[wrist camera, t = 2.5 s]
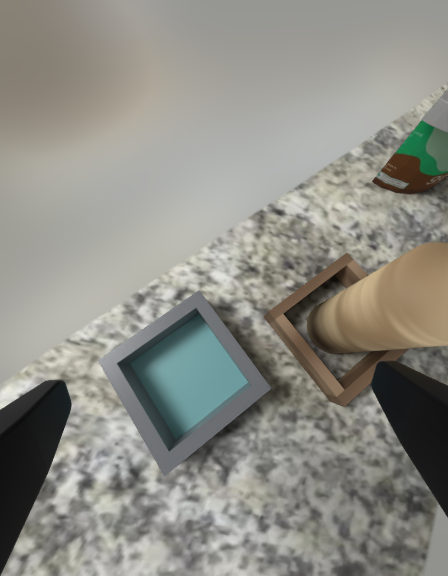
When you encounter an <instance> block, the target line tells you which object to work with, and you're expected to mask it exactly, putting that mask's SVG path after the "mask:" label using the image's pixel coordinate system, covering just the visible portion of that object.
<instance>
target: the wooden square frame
mask: <svg viewBox="0 0 448 576" xmlns="http://www.w3.org/2000/svg"><path fill="white" fill-rule="evenodd" d="M333 275H335V276H336V277H337V279H338V280H339V281H340V282H341V283H342V284H343V285H344V286H345V287H346V289H347V288H348V287H350V286H352V285H353V284H355V283H357V282H358V281H360V280H362V279H363V278H365V277H367V276H368V275H367V273H366V272H365V271H364V270H363V269H362V268H361V267H360V266H359V265H358V264H357V263H356V262H355V261H354V260H353V259H352V258H351V256H350V255H349V254H348V253H346V254H345V255H343V256H342V257H341V258H339V259H338V260H337V261H335V262H334V263H333V264H331V265H330V266H329V267H327V268H326V269H325V270H323V271H322V272H321V273H319V274H318V275H317V276H315V277H314V278H313V279H311V280H310V281H309V282H307V283H306V284H305V285H303V286H302V287H301V288H299V289H298V290H297V291H295V292H294V293H293V294H291V295H290V296H289V297H287V298H286V299H285V300H283V301H282V302H281V303H279V304H278V305H277V306H275V307H274V308H273V309H271V310H270V311H269V312H268V313H267V314H266V315H265V316H264V318H265V319H266V320H267V322H268V323H269V324H270V325H271V327H272V328H273V329H274V331H275V332H276V333H277V334H278V336H279V337H280V338H281V340H282V341H283V342H284V343H285V345H286V346H287V347H288V348H289V350H290V351H291V352H292V354H293V355H294V356H295V357H296V359H297V360H298V361H299V362H300V364H301V365H302V366H303V368H304V369H305V370H306V371H307V373H308V374H309V375H310V377H311V378H312V379H313V380H314V382H315V383H316V384H317V385H318V387H319V388H320V389H321V391H322V392H323V393H324V394H325V396H326V397H327V398H328V399H329V401H330V402H333V403H336V404H338V405H341V406H344V407H345V406H346V405H347V404H348V403H349V402H350V401H351V400H352V399H354V398H355V397H356V396H357V395H358V394H359V393H360V392H361V391H362V390H364V389H365V388H366V387H367V386H368V385H369V384H370V383H371V382H372V378H373V374H374V371H375V367H376V364H377V363H378V362H379V361H383V360H394V361H396V360H397V359H398V358H399V357H400V356H402V355H403V354H404V353H405V352H406V351H407V350H408V349H409V348H408V349H394V350H380V351H371V352H370V353H369V354H368V355H367V356H366V357H364V358H363V359H362V360H361V361H360V362H359V363H358V364H356V365H355V366H354V367H353V368H352V369H351V370H349V371H348V372H347V373H346V374H345V375H344V376H342V377H341V378H340V379H339V380H338V381H337V380H336V379H335V377H334V376H333V375H332V374H331V372H330V371H329V370H328V369H327V367H326V366H325V365H324V364H323V363H322V361H321V360H320V359H319V358H318V356H317V355H316V354H315V353H314V351H313V350H312V349H311V348H310V346H309V345H308V344H307V343H306V341H305V340H304V339H303V338H302V337H301V335H300V334H299V333H298V332H297V330H296V329H295V328H294V327H293V325H292V324H291V323H290V322H289V320H288V319H287V318H286V317H285V315H284V314H283V313H285V312H286V311H287V310H289V309H290V308H291V307H293V306H294V305H295V304H297V303H298V302H299V301H300V300H302V299H303V298H304V297H306V296H307V295H308V294H310V293H311V292H312V291H314V290H315V289H316V288H318V287H319V286H320V285H321V284H323V283H324V282H325V281H327V280H328V279H329V278H331V277H332V276H333Z"/></svg>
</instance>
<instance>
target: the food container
mask: <svg viewBox="0 0 448 576" xmlns="http://www.w3.org/2000/svg"><path fill="white" fill-rule="evenodd" d="M421 120H422V121H421V122H420V123H419V124H418V126H417V127H416V128H415V129H414V130H413V132H412V133H411V134H410V135H409V137H408V138H407V139H406V140H405V141H404V143H403V144H402V145H401V146H400V148H399V149H398V150H397V151H396V153H395V154H394V155H393V156H392V157H391V159H390V160H389V161H388V162H387V164H386V165H385V166H384V167H383V168H382V170H381V171H380V172H379V173H378V175H377V176H376V177H375V178H374V180H373V181H372V182H374V183H375V184H377V185H378V186H380V187H382V188H384V189H387V190H390V191H393V192H395V193H404V194H414V193H420V192H424V191H426V190H428V189H430V188H432V187H433V186H435V185H436V184H438V183H439V182H440V181H442V180H443V179H444V178H446V177H447V176H448V89H447V90H446V91H445V92H444V94H443V95H442V96H441V97H440V98H439V99H438V100H437V102H436V103H435V104H434V105H433V106H432V108H431V109H430V110H429V111H428V112H427V114H426V115H425V116H424V117H423V118H422V119H421Z"/></svg>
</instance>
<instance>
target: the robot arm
mask: <svg viewBox="0 0 448 576" xmlns="http://www.w3.org/2000/svg"><path fill="white" fill-rule="evenodd" d="M371 385H372V389H373V392H374V394H375V396H376V398H377V399H378V401H379V403H380V405H381V407H382V409H383V411H384V413H385V415H386V417H387V419H388V421H389V422H390V424H391V426H392V428H393V430H394V432H395V434H396V436H397V438H398V439H399V441H400V443H401V444H402V446H403V448H404V449H405V451H406V453H407V454H408V456H409V457H410V459H411V461H412V462H413V464H414V465H415V467H416V468H417V470H418V472H419V473H420V475H421V476H422V478H423V479H424V481H425V483H426V484H427V486H428V487H429V489H430V490H431V492H432V494H433V495H434V497H435V498H436V500H437V501H438V503H439V505H440V506H441V508H442V509H443V511H444V512H445V514H446V516H447V517H448V386H447V385H445V384H443V383H441V382H439V381H437V380H435V379H432V378H430V377H428V376H426V375H424V374H422V373H420V372H418V371H415V370H413V369H411V368H409V367H407V366H405V365H403V364H401V363H398V362H396V361H394V360H383V361H379V362H378V363H377V364H376V367H375V371H374V374H373V378H372V382H371ZM70 411H71V399H70V396H69V393H68V390H67V386H66V384H65V382H64V381H63V380H48V381H45V382H43V383H41V384H40V385H38V386H37V387H35V388H34V389H32V390H30V391H29V392H27V393H26V394H24V395H23V396H21V397H20V398H18V399H16V400H15V401H13V402H12V403H10V404H9V405H7V406H5V407H4V408H2V409H1V410H0V576H1V574H2V571H3V569H4V567H5V565H6V563H7V561H8V558H9V556H10V554H11V552H12V550H13V548H14V546H15V543H16V541H17V539H18V537H19V535H20V533H21V530H22V528H23V526H24V524H25V522H26V520H27V517H28V515H29V513H30V511H31V509H32V507H33V505H34V502H35V500H36V498H37V496H38V494H39V492H40V489H41V487H42V485H43V483H44V481H45V478H46V476H47V474H48V472H49V469H50V467H51V464H52V461H53V459H54V456H55V453H56V450H57V448H58V445H59V442H60V439H61V436H62V433H63V431H64V428H65V425H66V422H67V419H68V417H69V414H70Z"/></svg>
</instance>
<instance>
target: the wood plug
mask: <svg viewBox="0 0 448 576" xmlns="http://www.w3.org/2000/svg"><path fill="white" fill-rule="evenodd" d="M307 331H308V334H309V337H310V339H311V340H312V342H313V343H314V344H315V345H316V346H317V347H318V348H320V349H321V350H323V351H325V352H328V353H332V354H340V353H353V352H367V351H380V350H394V349H408V348H421V347H435V346H448V243H442V242H433V243H427V244H423V245H420V246H418V247H416V248H414V249H413V250H411V251H409V252H407V253H406V254H404V255H402V256H401V257H399V258H397V259H396V260H394V261H392V262H391V263H389V264H387V265H385V266H384V267H382V268H380V269H379V270H377V271H375V272H374V273H372V274H370V275H369V276H367V277H365V278H363V279H362V280H360V281H358V282H357V283H355V284H353V285H352V286H350V287H348V288H347V289H345V290H343V291H341V292H340V293H338V294H336V295H335V296H333V297H331V298H330V299H328V300H326V301H324V302H323V303H321V304H319V305H318V306H316V307H315V308H314V309H313V310H312V311H311V312H310V314H309V316H308V319H307Z"/></svg>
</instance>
